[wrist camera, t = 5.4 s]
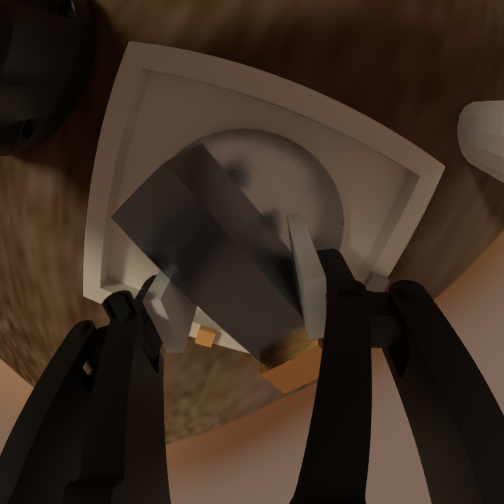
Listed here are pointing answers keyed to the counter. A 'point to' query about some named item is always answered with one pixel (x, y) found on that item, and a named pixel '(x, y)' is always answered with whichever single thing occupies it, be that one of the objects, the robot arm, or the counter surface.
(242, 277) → the dial
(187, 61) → the housing
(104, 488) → the robot arm
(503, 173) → the shot glass
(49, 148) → the counter surface
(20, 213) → the counter surface
